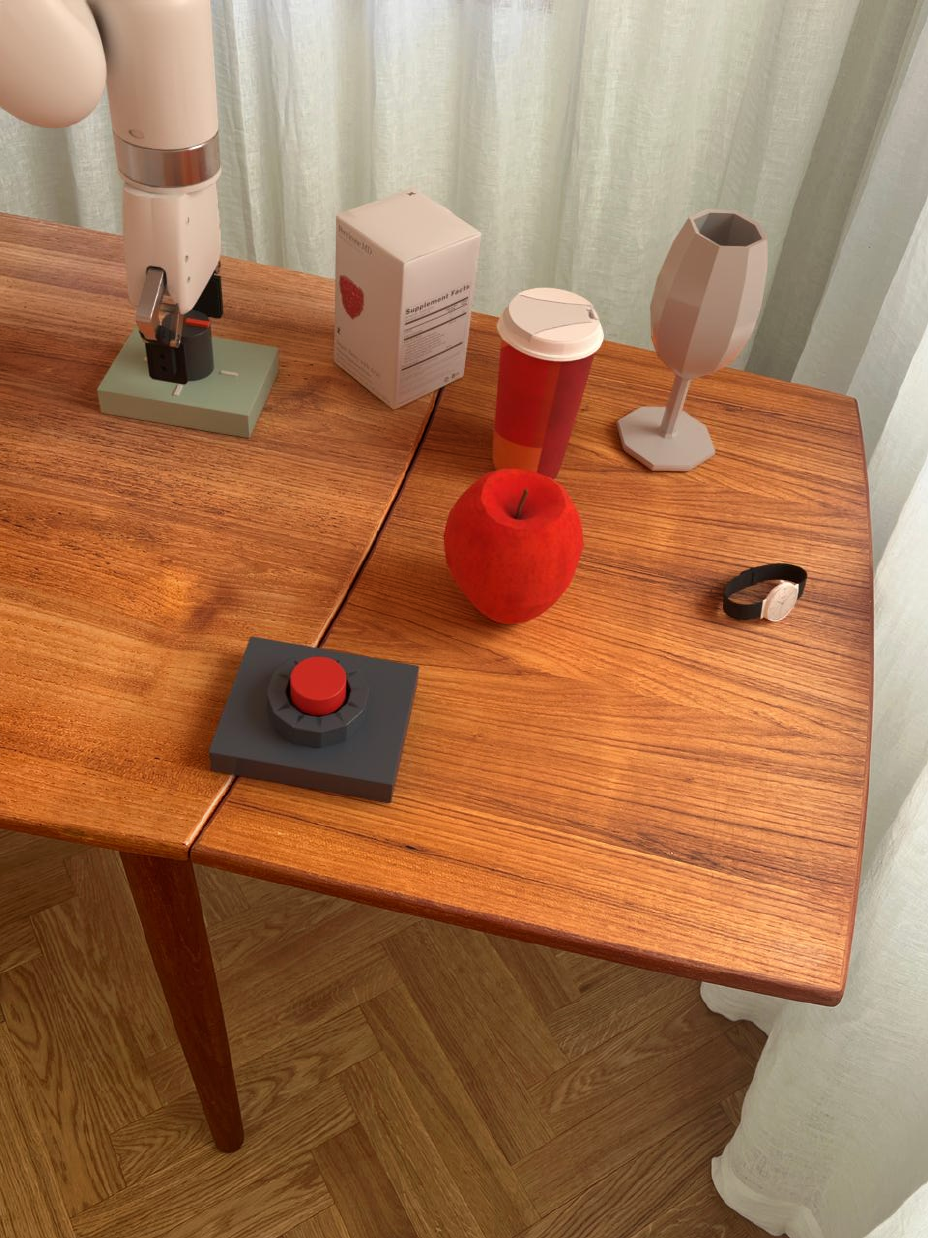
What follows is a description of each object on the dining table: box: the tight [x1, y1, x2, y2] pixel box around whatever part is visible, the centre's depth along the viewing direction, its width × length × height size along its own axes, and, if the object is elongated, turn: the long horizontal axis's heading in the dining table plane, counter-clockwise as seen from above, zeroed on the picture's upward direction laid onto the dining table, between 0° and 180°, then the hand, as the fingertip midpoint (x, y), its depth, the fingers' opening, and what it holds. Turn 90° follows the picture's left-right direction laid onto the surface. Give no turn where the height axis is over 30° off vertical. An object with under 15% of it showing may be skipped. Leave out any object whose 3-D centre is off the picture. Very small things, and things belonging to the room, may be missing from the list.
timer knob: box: [160, 310, 214, 381], centre depth 94 cm, size 4×4×5 cm
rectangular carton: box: [333, 187, 483, 410], centre depth 98 cm, size 9×9×15 cm
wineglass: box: [615, 208, 769, 472], centre depth 92 cm, size 9×9×21 cm
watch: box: [722, 562, 809, 622], centre depth 86 cm, size 8×5×4 cm, turn 122°
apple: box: [442, 468, 585, 625], centre depth 80 cm, size 10×10×12 cm
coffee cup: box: [492, 287, 605, 480], centre depth 91 cm, size 8×8×15 cm
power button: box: [290, 657, 346, 716], centre depth 72 cm, size 4×4×2 cm
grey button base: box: [208, 636, 420, 804], centre depth 74 cm, size 12×10×4 cm
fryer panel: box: [96, 323, 280, 439], centre depth 97 cm, size 13×10×3 cm
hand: (188, 346), depth 95 cm, fingers open, 9 cm apart
